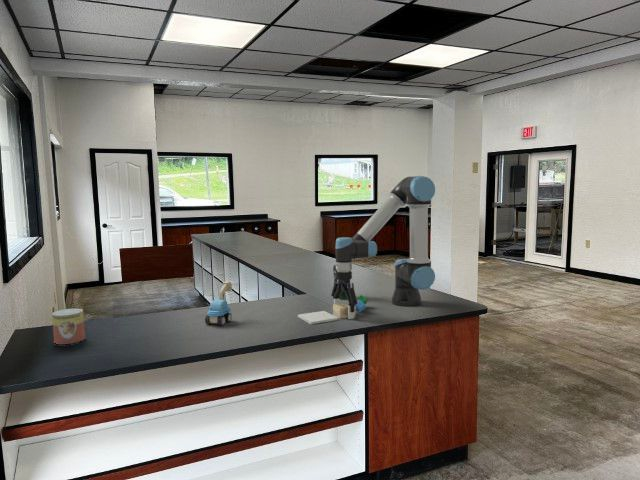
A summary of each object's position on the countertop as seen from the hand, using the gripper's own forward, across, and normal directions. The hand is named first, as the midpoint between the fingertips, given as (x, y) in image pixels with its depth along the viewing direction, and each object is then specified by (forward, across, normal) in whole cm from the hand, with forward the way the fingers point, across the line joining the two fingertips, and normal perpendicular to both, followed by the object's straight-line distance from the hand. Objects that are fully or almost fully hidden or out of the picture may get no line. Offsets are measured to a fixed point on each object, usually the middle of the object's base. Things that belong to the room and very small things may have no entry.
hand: (343, 315), depth 225 cm
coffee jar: (0, -32, +17) cm, 36 cm away
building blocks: (0, -5, +12) cm, 13 cm away
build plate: (0, -2, -13) cm, 13 cm away
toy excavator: (+1, -20, -53) cm, 56 cm away
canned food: (+1, -23, -115) cm, 117 cm away
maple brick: (0, 0, 0) cm, 0 cm away
